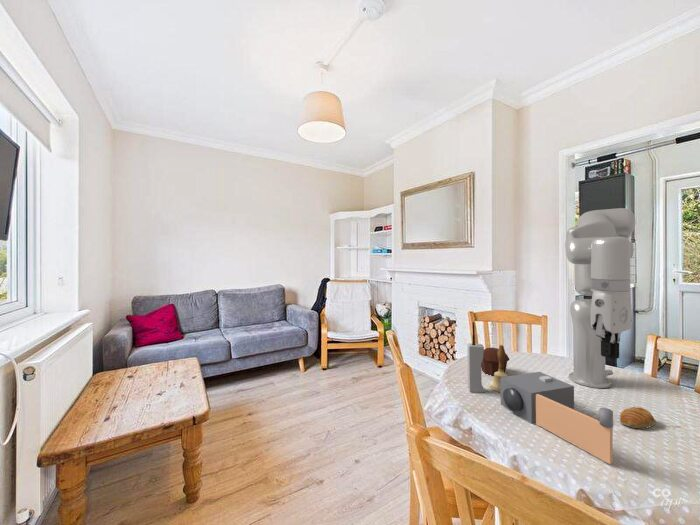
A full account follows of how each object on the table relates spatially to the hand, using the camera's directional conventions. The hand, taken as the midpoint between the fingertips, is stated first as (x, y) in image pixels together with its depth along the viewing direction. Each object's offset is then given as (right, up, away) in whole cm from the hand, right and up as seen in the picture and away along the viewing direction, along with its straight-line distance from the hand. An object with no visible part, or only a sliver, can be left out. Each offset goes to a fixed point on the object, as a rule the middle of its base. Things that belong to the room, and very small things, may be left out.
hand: (609, 356), depth 76 cm
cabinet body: (-8, -23, +18) cm, 30 cm away
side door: (-9, -22, +1) cm, 24 cm away
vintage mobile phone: (-21, -23, +32) cm, 44 cm away
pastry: (+16, -23, +10) cm, 30 cm away
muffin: (-6, -22, +48) cm, 53 cm away
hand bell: (-11, -23, +34) cm, 42 cm away
